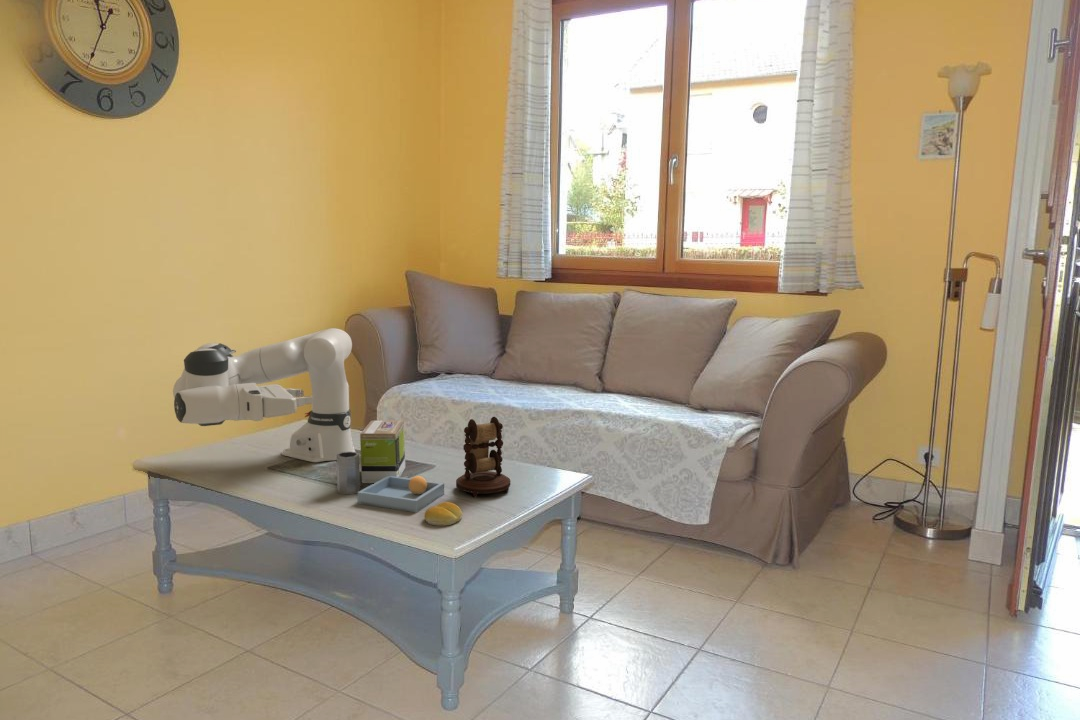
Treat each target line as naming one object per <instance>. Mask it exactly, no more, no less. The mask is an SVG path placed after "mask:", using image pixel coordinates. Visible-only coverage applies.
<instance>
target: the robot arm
mask: <svg viewBox="0 0 1080 720" xmlns="http://www.w3.org/2000/svg"><path fill="white" fill-rule="evenodd" d="M352 341H353V340H352V337H351V336H350V335H349V334H348V333H347V332H346V331H345V330H343V329H340V328H335V327H334V328H333V327H332V328H331V327H330V328H326V329H323V330H319V331H316V332H312V333H309V334H305V335H302V336H298V337H295V338H291V339H286V340H284V341H280V342H276V343H272V344H267V345H264V346H261V347H257V348H253V349H251V350H248V351H246V352H243V353H241V354H239V355H235V356H234V355H233V354H235V353H236V352H237V350H235V349H231V348H230V347H229V346H228V345H225V344H224V343H216V342H211V343H205V344H202V345H200V346H199V347H198V348H197V349H195V350H193V351H190V352H189V353H188V354H187V355H186V356H185V358H184V359H183V365H184V366H183V367H184V368H183V370H182V373H181V376H179V377H178V379H177V380H176V381H175V382H174V385H173V389H172V394H173V408H174V414H175V416H176V419H177V421H179V423H182V424H190V425H191V424H192V425H193V424H195V425H197V424H198V425H199V426H200V427H210V426H218V425H222V424H223V423H224V422H226V421H234V422H236V421H237V422H238V421H249V420H250V421H253V422H260V421H264V418H265V419H268V418H269V419H270V418H276V417H277V418H278V417H283V416H288V415H292V414H295V413H297V409H298V408H299V407H303V406H305V405H311V410H310V411H308V412H305V413H304V415H305V416H304V418H307V417H308V419H307V422H305V423H304V424H303V425H302V426H300V427H299V428H298V429H297V430H295V431H294V432H293V433H292V434H291V437H290V441H289V446H288V447H286V448H284V449H283V450H282V452H281V455H282V456H286V457H290V458H292V459H298V460H302V461H306V462H311V463H320V462H326V461H327V462H329V461H337V454H339V453H342V452H356V449H355V447H354V443H353V439H352V438H353V437H352V431H351V424H352V413H351V408H350V394H349V393H350V385H349V382H348V380H347V375H346V374H347V373H346V368H345V360H346V359H347V358H349V356H350V354H351V352H352V349H353V342H352ZM305 373H308V377H309V380H310V389H311V395H308V396H306V395H305V396H304V390H303V389H302V388H284V387H283V386H282V385H280V384H276V383H275V384H267V383H272V382H275V381H280V380H284V379H288V378H292V377H296V376H299V375H302V374H305ZM261 384H265V385H261Z"/></svg>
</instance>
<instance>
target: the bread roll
mask: <svg viewBox="0 0 1080 720" xmlns="http://www.w3.org/2000/svg"><path fill="white" fill-rule="evenodd" d="M423 516H424V517H423V518H424V520H425V521H426V523H428V524H429V525H431V526H436V525H437V526H439V527H440V526H441V527H442V526H443V527H446V526H452V525H453V524H455V523H458V522H459V521H461V519H462V518H463V512H462V509H461V508H460V507H459V506H458V505H457V504H456V503H453V502H450V501H443V502H440V503H438V504H436V505H435V506H431V507H429V508H428V509H426V511H425V512H424V514H423Z"/></svg>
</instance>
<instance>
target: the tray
mask: <svg viewBox="0 0 1080 720" xmlns="http://www.w3.org/2000/svg"><path fill="white" fill-rule="evenodd" d="M411 479H412V478H409V477H403V476H402V477H401V476H400V477H395V476H387V477H385V478H383V479H381V480H379V481H378V482H376V483H374V484H370V485H368V486H367V487H365V488H363V489H360V491H358V492H357V505H358V504H359V505H366V506H371V507H378V508H379V507H380V508H386V509H390V508H391V510H397V511H403V512H404V511H405V512H410V513H419V512H420V511H421V510H422V509H425V508H426V507H427V506H429V505H430V504H432V503H433V502H434V501H436V500H438V499H439V498H441V497H442V496H443V495H445V483H444V482H437V481H430V480H426V482H427V488H426V490H425V491H424V492H423V493H422V494H414V493H412V492H411V491H410V489H409V481H410V480H411Z"/></svg>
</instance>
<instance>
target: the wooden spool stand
mask: <svg viewBox="0 0 1080 720" xmlns="http://www.w3.org/2000/svg"><path fill="white" fill-rule="evenodd" d="M489 421H490V422H487V423H486V422H485V423H479V424H477V422H476V421H475V419H473V418H471V419H469V421H468V423H467V426H465V427H464V429H463V432H464V436H465V439H464V445H463V451H464V453H465V455H464V460H465V461H463V466H464V470H465V471H464V474H463V475H461V476H459V477H457V478H456V480H455V485H456V488H457V489H459V490H461V491H462V492H467V493H470V494H472V495H473V498H477V496H478V494H494V493H500V492H503V491H505V493H508V492H509V490H510V489H509V488H510V487H511V479H510V477H508V476H506V475H505V474H503V473H502V472H503V469H502V462H503V457H502V454H503V452H502V447H503V445H504V441H503V435H502V432H503V428H504V424H503V423H501V422H500V421H499V419H498V418H497V416H492V417H491V418H490V420H489ZM494 441H495V442H494ZM490 447H491V448H494V447H496V449H497V450H496V449H491V450H490V451H489V449H490Z"/></svg>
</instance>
